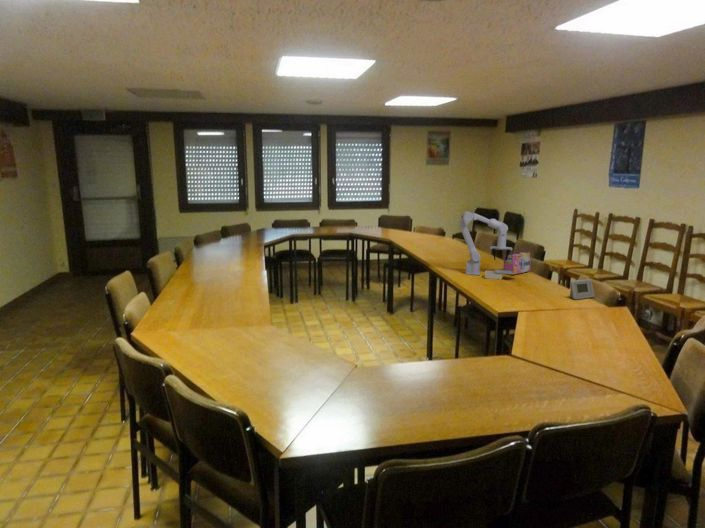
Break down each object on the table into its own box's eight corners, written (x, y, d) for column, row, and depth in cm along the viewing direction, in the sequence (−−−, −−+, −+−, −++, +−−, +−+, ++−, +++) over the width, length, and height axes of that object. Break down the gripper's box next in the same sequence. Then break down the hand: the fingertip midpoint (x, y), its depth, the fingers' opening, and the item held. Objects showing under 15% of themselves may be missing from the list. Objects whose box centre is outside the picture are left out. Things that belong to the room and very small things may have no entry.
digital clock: (573, 300, 272) (575, 282, 270) (563, 296, 281) (565, 278, 279) (598, 299, 276) (600, 281, 273) (587, 295, 284) (589, 277, 282)
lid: (495, 273, 319) (495, 267, 318) (495, 270, 327) (495, 264, 326) (516, 274, 316) (517, 268, 315) (516, 272, 324) (516, 266, 323)
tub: (484, 278, 322) (485, 272, 321) (484, 276, 330) (485, 270, 329) (501, 280, 319) (502, 274, 318) (501, 277, 327) (502, 271, 326)
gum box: (522, 269, 352) (522, 251, 350) (532, 270, 346) (531, 251, 344) (503, 274, 337) (503, 254, 335) (513, 274, 331) (513, 255, 329)
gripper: (490, 241, 328) (489, 260, 331) (513, 242, 324) (511, 261, 327) (490, 239, 334) (489, 258, 337) (512, 240, 331) (511, 260, 333)
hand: (500, 260), depth 332 cm, fingers open, 7 cm apart
